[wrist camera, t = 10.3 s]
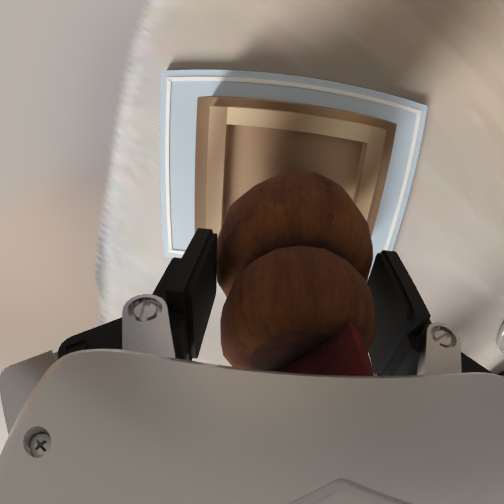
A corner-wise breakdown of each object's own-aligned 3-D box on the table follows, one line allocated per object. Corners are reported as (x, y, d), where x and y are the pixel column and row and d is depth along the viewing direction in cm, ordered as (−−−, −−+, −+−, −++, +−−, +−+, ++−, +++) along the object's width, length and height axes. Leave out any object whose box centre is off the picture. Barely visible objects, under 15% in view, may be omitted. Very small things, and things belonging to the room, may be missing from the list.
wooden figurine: (330, 144, 15) (497, 397, 2) (357, 233, 18) (439, 486, 5) (218, 184, 17) (83, 445, 4) (255, 264, 20) (218, 514, 7)
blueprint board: (422, 104, 18) (461, 113, 13) (378, 274, 27) (396, 317, 21) (166, 71, 19) (130, 68, 14) (167, 250, 27) (143, 289, 22)
